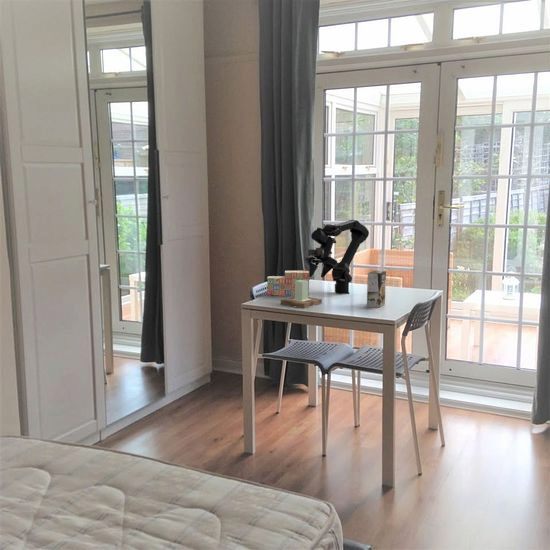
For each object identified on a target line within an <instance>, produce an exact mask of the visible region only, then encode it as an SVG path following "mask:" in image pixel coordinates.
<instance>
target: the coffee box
mask: <svg viewBox="0 0 550 550" xmlns="http://www.w3.org/2000/svg"><path fill="white" fill-rule="evenodd" d="M366 282H367V285H366V286H367V289H366V307H369V308H376V307H378V309H379V308H381V307H382V306H385V305H386V289H387V288H386V287H387V285H386V284H387V283H386V282H387V271H386V270H372V271H369V272H367V281H366ZM384 304H385V305H384Z"/></svg>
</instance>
